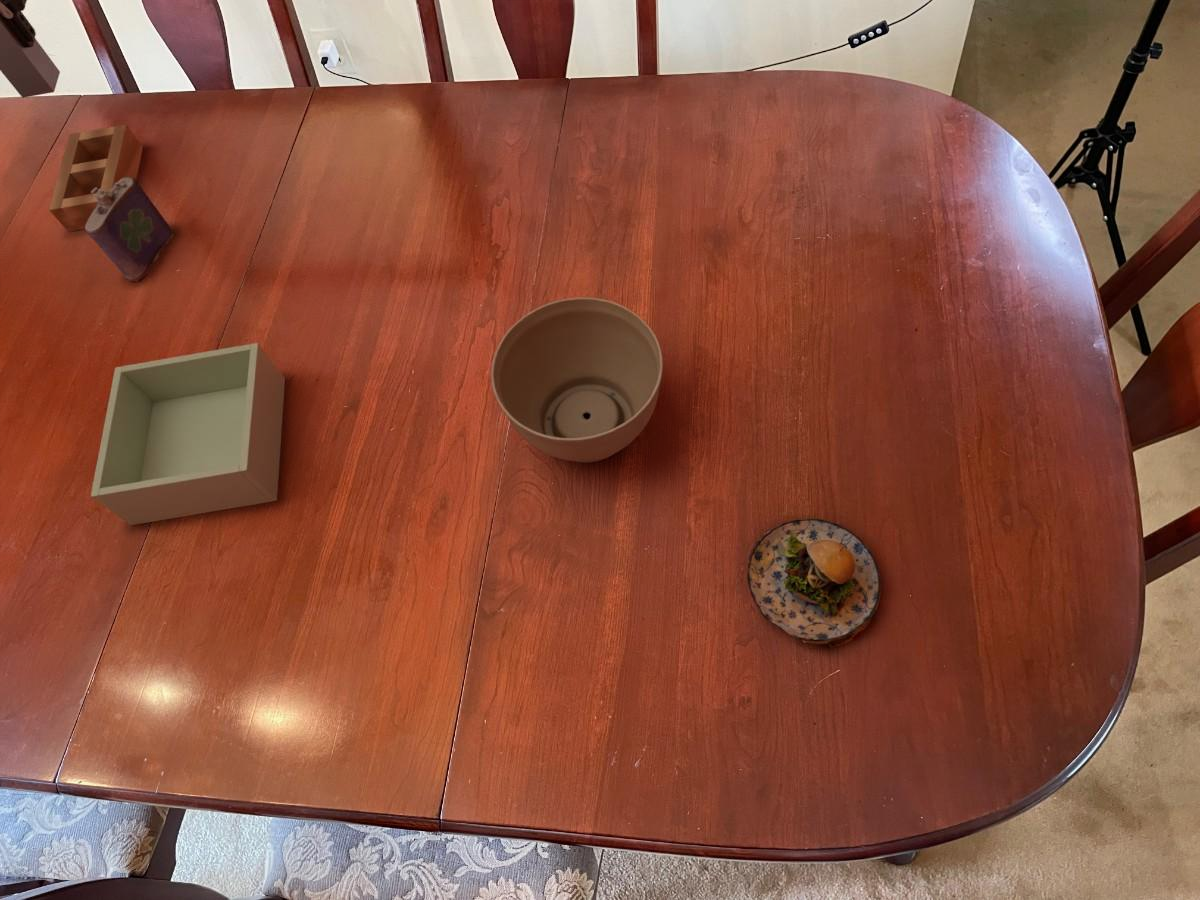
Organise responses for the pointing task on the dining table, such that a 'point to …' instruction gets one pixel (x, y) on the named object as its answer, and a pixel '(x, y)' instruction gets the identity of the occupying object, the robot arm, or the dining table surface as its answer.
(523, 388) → the planter bowl
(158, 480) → the tub
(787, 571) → the burger
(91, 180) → the rack
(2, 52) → the grey rectangular block
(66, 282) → the dining table surface
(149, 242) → the flask
